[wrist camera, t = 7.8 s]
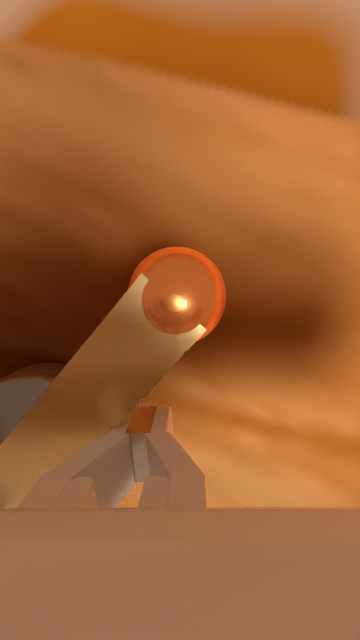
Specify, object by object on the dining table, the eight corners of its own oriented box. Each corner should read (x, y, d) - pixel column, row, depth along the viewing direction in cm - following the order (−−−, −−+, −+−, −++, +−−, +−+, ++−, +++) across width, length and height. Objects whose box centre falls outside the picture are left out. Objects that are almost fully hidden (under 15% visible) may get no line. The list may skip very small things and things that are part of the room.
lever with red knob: (68, 516, 15) (-17, 692, 9) (-43, 438, 14) (-225, 571, 8) (263, 317, 12) (344, 370, 6) (138, 203, 11) (72, 119, 5)
